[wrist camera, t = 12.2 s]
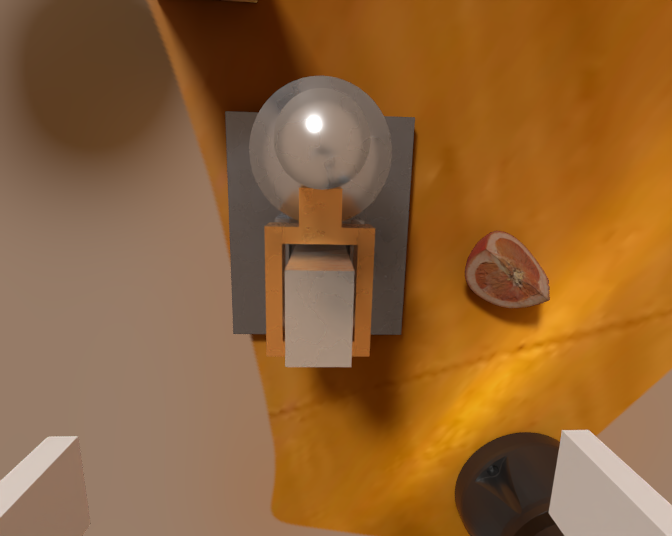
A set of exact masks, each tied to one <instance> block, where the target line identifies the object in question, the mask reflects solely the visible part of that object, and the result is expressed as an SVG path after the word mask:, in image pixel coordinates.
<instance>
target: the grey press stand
mask: <svg viewBox="0 0 672 536" xmlns="http://www.w3.org/2000/svg"><path fill="white" fill-rule="evenodd" d="M225 118H226V145H227V172H228V199H229V226H230V253H231V280H232V307H233V333H234V334H266V347H267V356H285V268H286V266H287V264H288V261H289V259H290V257H291V254H292V252H293V250H294V247H295V245H296V244H329V245H345V247H346V250H347V253H348V255H349V258H350V260H351V263H352V266H353V268H354V271H355V274H354V304H353V333H352V357H369V356H370V334H374V335H401V328H402V312H403V296H404V281H405V265H406V249H407V233H408V218H409V202H410V186H411V171H412V155H413V139H414V123H415V117H385V116H383V114H382V112H381V111H380V109H379V107H378V106H377V105H376V103H375V102H374V101H373V100H372V99H371V98H370V97H369V96H368V95H367V94H366V93H365V92H364V91H362V90H361V89H360V88H358V87H357V86H355V85H353V84H351V83H349V82H347V81H344V80H342V79H338V78H335V77H329V76H310V77H305V78H301V79H298V80H295V81H292V82H290V83H288V84H286V85H285V86H283V87H282V88H280V89H279V90H277V91H276V92H275V93H274V94H273V95H272V96H271V97H270V98H269V99H268V100H267V101H266V102H265V104H264V105H263V106H262V108H261V110H260V111H259V112H232V111H225Z"/></svg>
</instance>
